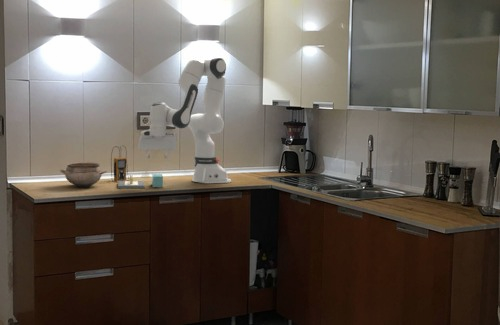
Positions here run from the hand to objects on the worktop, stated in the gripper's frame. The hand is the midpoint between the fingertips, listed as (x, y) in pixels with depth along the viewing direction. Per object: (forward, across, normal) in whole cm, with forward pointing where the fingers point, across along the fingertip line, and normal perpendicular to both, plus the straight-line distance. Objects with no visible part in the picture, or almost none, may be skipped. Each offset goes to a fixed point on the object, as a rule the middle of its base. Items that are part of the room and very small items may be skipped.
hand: (157, 157), depth 369 cm
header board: (+16, +13, 0) cm, 21 cm away
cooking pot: (+16, +39, +1) cm, 42 cm away
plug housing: (+15, -1, 0) cm, 16 cm away
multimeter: (+16, +17, -18) cm, 30 cm away
